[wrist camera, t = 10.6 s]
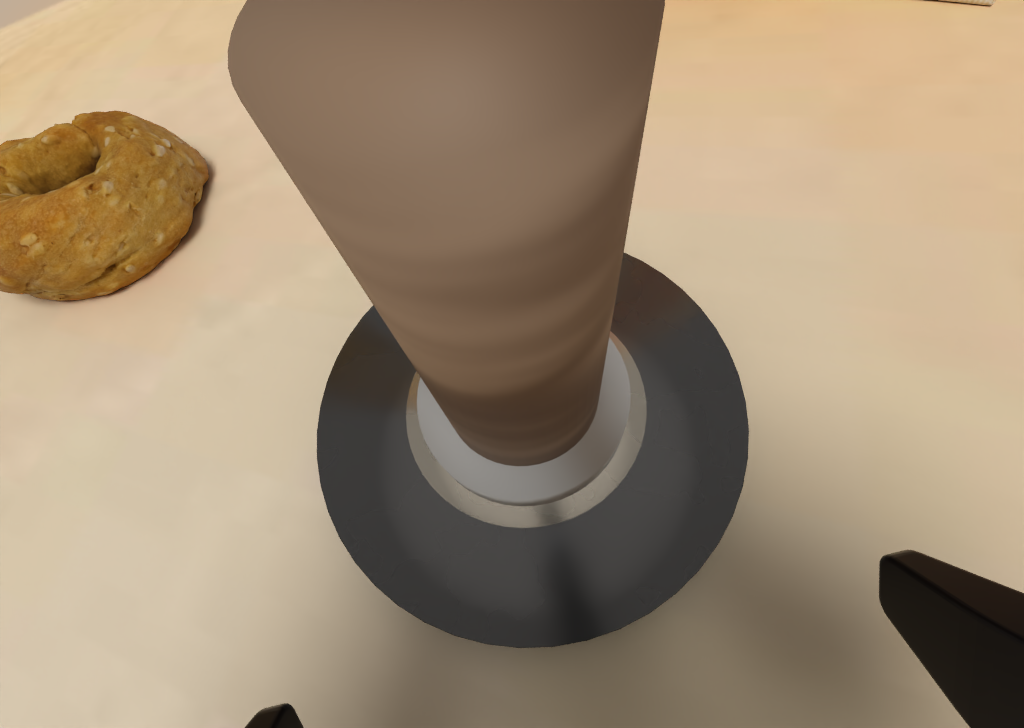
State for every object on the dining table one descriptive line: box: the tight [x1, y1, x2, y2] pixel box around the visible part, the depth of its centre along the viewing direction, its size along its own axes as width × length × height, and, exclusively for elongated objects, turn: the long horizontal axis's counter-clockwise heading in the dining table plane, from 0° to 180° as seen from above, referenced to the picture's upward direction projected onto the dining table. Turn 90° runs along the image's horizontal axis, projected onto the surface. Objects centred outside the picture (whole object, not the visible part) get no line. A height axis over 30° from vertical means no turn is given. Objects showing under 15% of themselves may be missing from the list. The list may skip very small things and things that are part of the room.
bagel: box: [0, 111, 209, 301], centre depth 23 cm, size 10×11×5 cm
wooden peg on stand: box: [228, 0, 665, 506], centre depth 12 cm, size 7×7×13 cm
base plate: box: [317, 252, 749, 648], centre depth 18 cm, size 15×15×1 cm
